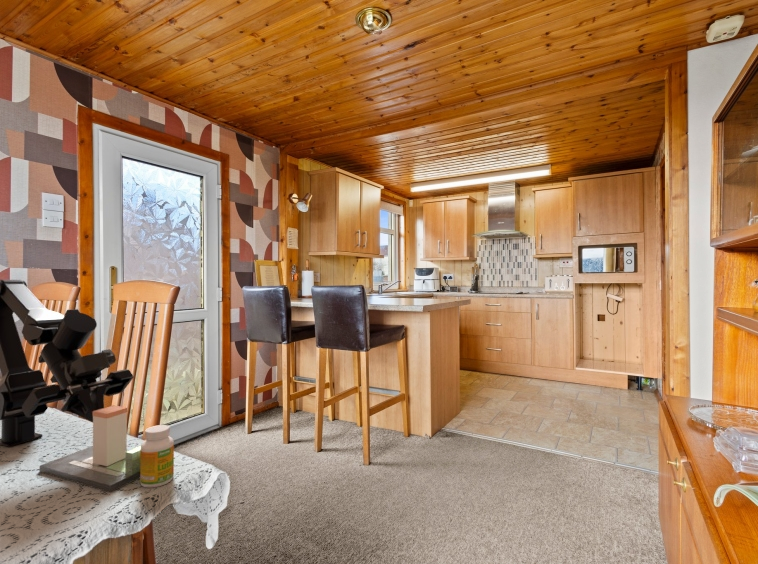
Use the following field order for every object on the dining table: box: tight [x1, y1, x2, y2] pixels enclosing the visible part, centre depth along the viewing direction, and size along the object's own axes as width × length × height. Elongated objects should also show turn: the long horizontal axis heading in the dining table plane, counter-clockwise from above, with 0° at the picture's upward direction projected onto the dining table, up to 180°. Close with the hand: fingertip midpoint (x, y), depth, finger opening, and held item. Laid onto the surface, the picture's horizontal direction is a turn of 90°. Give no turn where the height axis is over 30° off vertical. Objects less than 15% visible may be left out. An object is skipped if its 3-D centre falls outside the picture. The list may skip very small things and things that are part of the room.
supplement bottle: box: [139, 424, 175, 488], centre depth 73 cm, size 5×5×10 cm
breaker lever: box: [92, 405, 128, 466], centre depth 79 cm, size 4×4×10 cm
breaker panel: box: [39, 445, 141, 493], centre depth 78 cm, size 20×11×5 cm, turn 69°
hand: (102, 423), depth 80 cm, fingers closed, pressing on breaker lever
